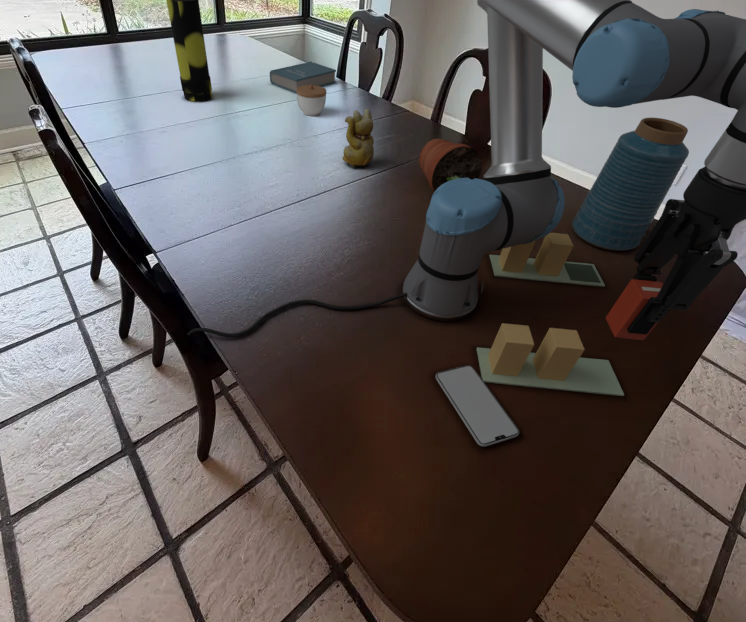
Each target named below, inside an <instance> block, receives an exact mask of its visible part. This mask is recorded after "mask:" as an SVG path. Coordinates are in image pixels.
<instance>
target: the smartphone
mask: <svg viewBox="0 0 746 622" xmlns="http://www.w3.org/2000/svg"><path fill="white" fill-rule="evenodd" d="M435 380H436V381H437V383H438V385H439V386H440V388H441V389H442V391H443V392H444V394H445V396H446V398H448V400H449V402H450V404H451V405H452V406H453V408H454V409H455V412H457V414H458V416H459V418H460V419H461V420H462V422H463V423H464V425H465V427H466V428H467V430H468V432H469V433H470V434H471V436H472V437H473V440H474V441H475V442H476V444H477V445H478V446H480V447H484V448H485V447H488V446H492V445H495V444H498V443H502V442H505V441H508V440H512V439H514V438H517V437H518V436H519V434H520V430H519V427H518V426H517V425H516V424H515V422H514V421H513V420H512V418H511V417H510V415H509V414H508V413H507V412H506V410H505V409H504V407H503V405H502V404H501V403H500V402H499V400H498V399H497V398H496V396H495V395H494V394H493V392H492V390H490V388H489V387H488V385H487V383H486V382H484V381H483V380H482V377H481V375H480V374H479V373H478V371H477V370H476V369H475V367H473V366H472V365H469V364H466V365H462V366H457V367H453V368H450V369H445V370H442V371H438V372H437V373H436V374H435Z"/></svg>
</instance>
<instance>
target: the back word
mask: <svg viewBox="0 0 746 622" xmlns="http://www.w3.org/2000/svg"><path fill="white" fill-rule="evenodd" d="M535 244H536V240H535V241H533V242H530V243H527V244H519V245H515V246H511V247H507V248H504V249H501V251H500V254H489V260H490V264H491V267H492V271H493V275H494V277H496V278H505V279H506V278H508V279H518V280H527V281H537V282H538V281H539V282H549V283H559V284H560V283H561V284H569V285H571V284H572V285H581V286H591V287H601V288H602V287H603V288H604V287H606V284H605V283H604V281H603V279H602V277H601V275H600V273H599V271H598V270H597V268H596V265H595V264H594V263H587V262H576V261H567V260H568V258H569V256H570V254H571V253H572V250H573V248H574V246H575V245H574V243H573V242H572V240H571V237H570V236H569V234H568V233H559V232H558V233H557V232H550V233H549V234H548V235H546V236H544V237H543V241H542V243H541V245H540V247H539V250H538V252H537V254H536V257H535V258H533V257H530V255H531V254H532V251H533V249H534V246H535Z"/></svg>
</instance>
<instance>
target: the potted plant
mask: <svg viewBox="0 0 746 622" xmlns="http://www.w3.org/2000/svg"><path fill="white" fill-rule="evenodd" d="M418 166H419V170H420V171H421V172H422V174H423V175H424V176H425V177H426V179H427V182H428V186H429V188H430V189H431V191H432V192H433V193H434V192H435V191H436V190H437V188H438V187H440V186H441V185H442V184H444V183H446V182H448V181H451V180H454V179H459V178H469V179H471V180H473V179H475V178H477V179H480V175H481V173H482V170H483V163H482V159H481V156H480V155H479V153H478V151H477V150H475V149H473V148H472V147H470V145H467V144H465V143H460V142H458V143H455V142H452V141H450V140H447V139H443V138H439V137H438V138H433V139H431V140H429V141H427V143H426V144H424V146H423V147H422V149H421V151H420V152H419V158H418Z"/></svg>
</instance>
